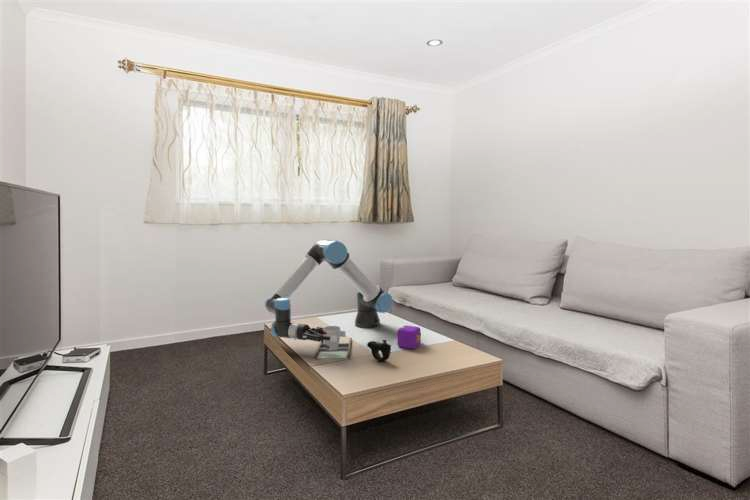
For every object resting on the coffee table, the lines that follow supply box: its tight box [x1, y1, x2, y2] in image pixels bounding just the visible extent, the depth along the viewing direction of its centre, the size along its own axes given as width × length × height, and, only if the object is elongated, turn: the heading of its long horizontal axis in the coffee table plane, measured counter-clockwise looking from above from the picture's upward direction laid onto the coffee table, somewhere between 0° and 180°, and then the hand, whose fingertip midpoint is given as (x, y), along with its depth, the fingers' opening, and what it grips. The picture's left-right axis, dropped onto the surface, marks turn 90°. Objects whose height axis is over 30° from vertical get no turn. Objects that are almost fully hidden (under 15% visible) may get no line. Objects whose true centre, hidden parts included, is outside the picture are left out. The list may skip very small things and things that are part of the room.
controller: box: [366, 339, 392, 363], centre depth 189 cm, size 4×12×10 cm, turn 49°
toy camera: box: [396, 325, 422, 350], centre depth 210 cm, size 11×14×10 cm
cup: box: [322, 325, 341, 350], centre depth 197 cm, size 8×8×10 cm
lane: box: [313, 337, 353, 360], centre depth 206 cm, size 16×27×2 cm, turn 0°
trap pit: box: [320, 342, 349, 351], centre depth 207 cm, size 14×8×2 cm, turn 90°
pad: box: [316, 351, 348, 360], centre depth 198 cm, size 14×10×1 cm
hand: (340, 336), depth 195 cm, fingers closed on cup, 8 cm apart
